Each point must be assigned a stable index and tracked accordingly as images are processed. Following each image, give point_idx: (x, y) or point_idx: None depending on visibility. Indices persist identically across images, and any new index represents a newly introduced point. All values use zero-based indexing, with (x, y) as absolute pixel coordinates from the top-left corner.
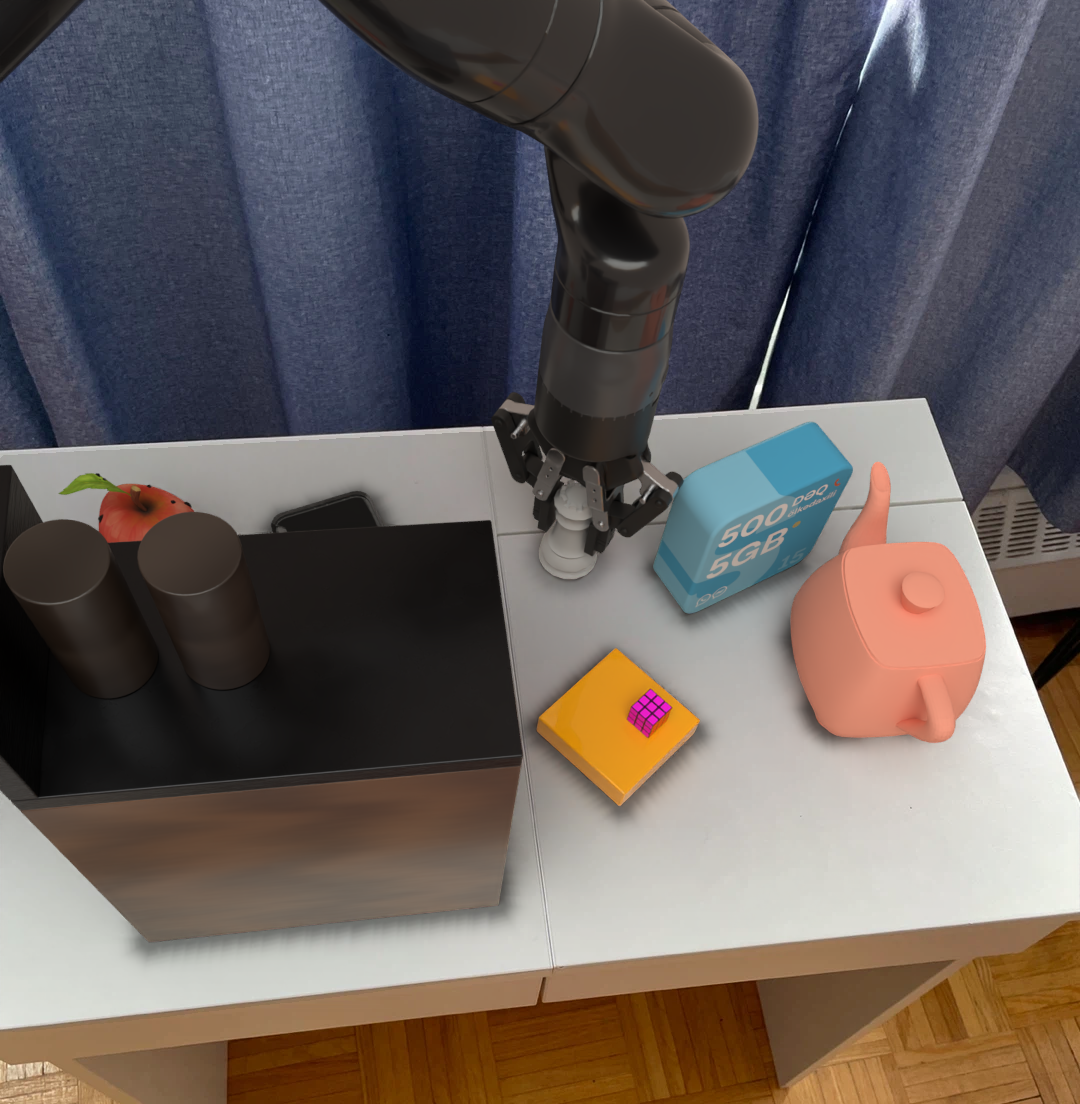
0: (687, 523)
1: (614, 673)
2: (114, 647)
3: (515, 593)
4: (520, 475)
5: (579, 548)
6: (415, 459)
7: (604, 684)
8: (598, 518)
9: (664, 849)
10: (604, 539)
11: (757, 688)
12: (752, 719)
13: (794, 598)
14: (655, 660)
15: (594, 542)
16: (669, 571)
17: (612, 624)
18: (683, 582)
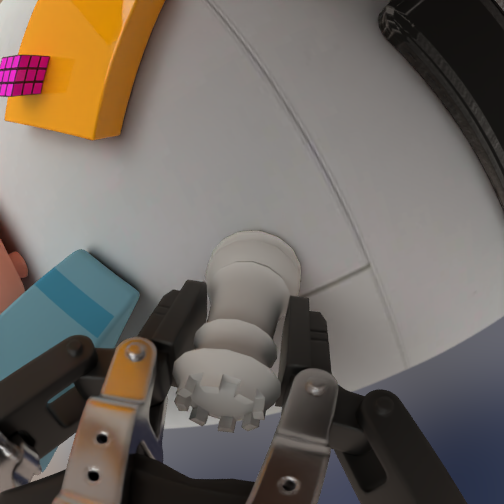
0: None
1: (78, 99)
2: None
3: (306, 175)
4: (379, 416)
5: (217, 286)
6: (475, 318)
7: (84, 75)
8: (134, 369)
9: (30, 8)
10: (154, 317)
11: (17, 200)
12: (9, 167)
13: (9, 299)
14: (83, 172)
15: (172, 306)
16: (91, 293)
17: (146, 192)
18: (60, 282)
